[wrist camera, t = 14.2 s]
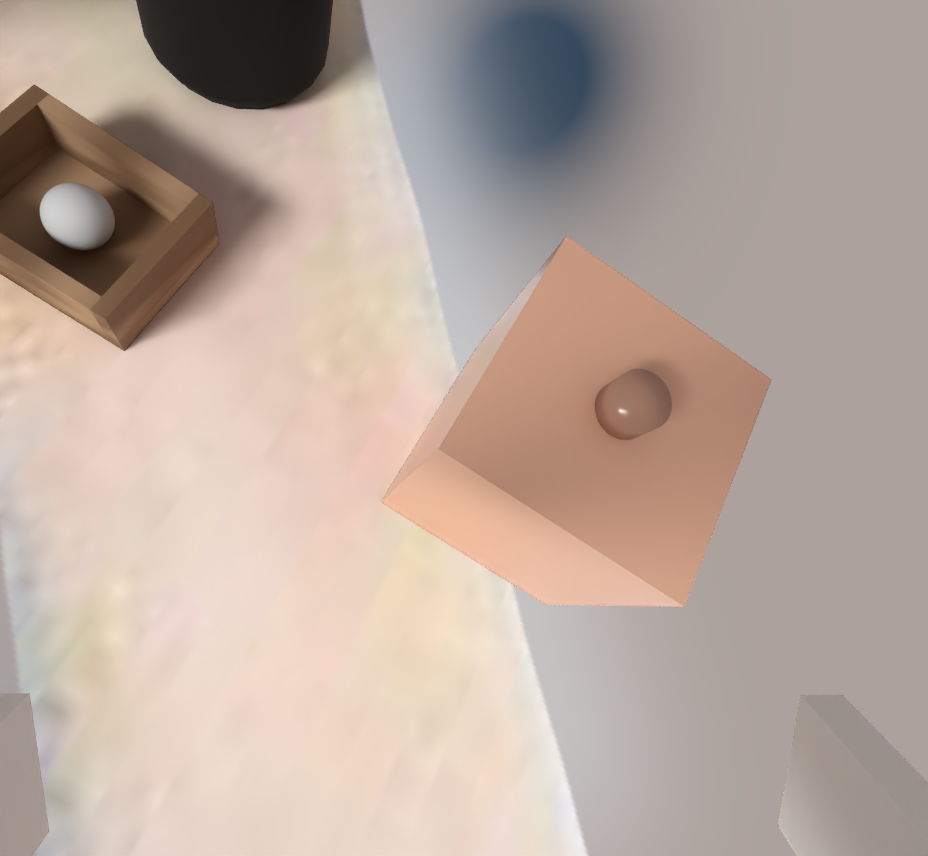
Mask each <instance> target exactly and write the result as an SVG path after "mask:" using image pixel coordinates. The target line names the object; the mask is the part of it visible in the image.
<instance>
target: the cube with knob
mask: <svg viewBox="0 0 928 856" xmlns="http://www.w3.org/2000/svg"><path fill="white" fill-rule="evenodd" d="M770 382H771V379H770V378H768V377H767V376H766V375H764V374H763V373H761V372H760V371H758V370H757V369H756V368H754V367H753V366H751V365H750V364H748V363H747V362H746V361H744V360H743V359H741V358H740V357H738V356H737V355H735V354H734V353H733V352H731V351H730V350H728V349H727V348H725V347H724V346H723V345H721V344H720V343H718V342H717V341H716V340H714V339H713V338H711V337H710V336H708V335H707V334H705V333H704V332H703V331H701V330H700V329H699V328H697V327H695V326H694V325H693V324H691V323H690V322H689V321H687V320H686V319H684V318H683V317H681V316H680V315H679V314H677V313H675V312H674V311H672V310H671V309H670V308H668V307H667V306H666V305H664V304H663V303H661V302H660V301H658V300H657V299H656V298H654V297H653V296H651V295H650V294H648V293H647V292H646V291H644V290H643V289H641V288H640V287H639V286H637V285H636V284H634V283H633V282H631V281H630V280H629V279H627V278H626V277H624V276H623V275H621V274H620V273H619V272H617V271H616V270H614V269H613V268H611V267H610V266H609V265H607V264H606V263H604V262H603V261H602V260H600V259H599V258H597V257H596V256H594V255H593V254H592V253H590V252H589V251H587V250H586V249H584V248H583V247H582V246H580V245H579V244H577V243H576V242H574V241H573V240H571V239H570V238H569V237H567V236H566V237H565V238H564V239H563V241H562V242H561V243H560V244H559V246H558V247H557V248H556V249H555V251H554V252H553V253H552V254H551V256H550V257H549V258H548V259H547V261H546V262H545V263H544V264H543V266H542V267H541V268H540V269H539V271H538V272H537V273H536V274H535V276H534V277H533V278H532V279H531V281H530V282H529V283H528V284H527V285H526V287H525V288H524V289H523V291H522V292H521V293H520V294H519V295H518V297H517V298H516V299H515V301H514V302H513V303H512V304H511V305H510V307H509V308H508V309H507V310H506V312H505V313H504V314H503V316H502V317H501V318H500V319H499V320H498V322H497V323H496V324H495V325H494V326H493V328H492V329H491V330H490V332H489V333H488V334H487V335H486V337H485V338H484V339H483V340H482V342H481V343H480V344H479V345H478V346H477V348H476V349H475V350H474V352H473V353H472V355H471V357H470V359H469V360H468V362H467V363H466V365H465V366H464V368H463V370H462V371H461V373H460V374H459V376H458V378H457V379H456V381H455V383H454V384H453V386H452V387H451V389H450V391H449V392H448V394H447V395H446V397H445V399H444V400H443V402H442V404H441V405H440V407H439V408H438V410H437V412H436V413H435V415H434V416H433V418H432V420H431V421H430V423H429V425H428V426H427V428H426V429H425V431H424V433H423V434H422V436H421V437H420V439H419V441H418V442H417V444H416V446H415V447H414V449H413V450H412V452H411V454H410V455H409V457H408V458H407V460H406V462H405V463H404V465H403V467H402V468H401V470H400V471H399V473H398V475H397V476H396V478H395V479H394V481H393V483H392V484H391V486H390V488H389V489H388V491H387V492H386V494H385V496H384V497H383V499H382V500H381V502H382V503H383V504H385V505H386V506H388V507H390V508H391V509H393V510H394V511H396V512H398V513H399V514H401V515H402V516H404V517H406V518H407V519H409V520H410V521H412V522H414V523H415V524H417V525H418V526H420V527H422V528H423V529H425V530H426V531H428V532H430V533H431V534H433V535H434V536H436V537H438V538H439V539H441V540H442V541H444V542H446V543H447V544H449V545H450V546H452V547H454V548H455V549H457V550H458V551H460V552H462V553H463V554H465V555H467V556H468V557H470V558H471V559H473V560H475V561H476V562H478V563H479V564H481V565H483V566H484V567H486V568H487V569H489V570H491V571H492V572H494V573H495V574H497V575H499V576H500V577H502V578H503V579H505V580H507V581H508V582H510V583H511V584H513V585H515V586H516V587H518V588H520V589H521V590H523V591H524V592H526V593H528V594H529V595H531V596H532V597H534V598H536V599H537V600H539V601H540V602H542V603H544V604H545V605H594V606H595V605H596V606H601V605H602V606H665V607H666V606H667V607H684V606H685V603H686V601H687V598H688V596H689V593H690V590H691V588H692V585H693V583H694V580H695V577H696V575H697V572H698V569H699V567H700V564H701V562H702V559H703V557H704V554H705V551H706V549H707V546H708V544H709V541H710V538H711V536H712V533H713V530H714V528H715V525H716V523H717V520H718V518H719V515H720V512H721V510H722V507H723V505H724V502H725V499H726V497H727V494H728V492H729V489H730V486H731V484H732V481H733V479H734V476H735V473H736V471H737V468H738V466H739V463H740V460H741V458H742V455H743V453H744V450H745V447H746V445H747V442H748V439H749V437H750V435H751V432H752V429H753V427H754V424H755V422H756V419H757V416H758V414H759V411H760V408H761V406H762V403H763V400H764V398H765V396H766V393H767V390H768V388H769V385H770Z"/></svg>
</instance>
